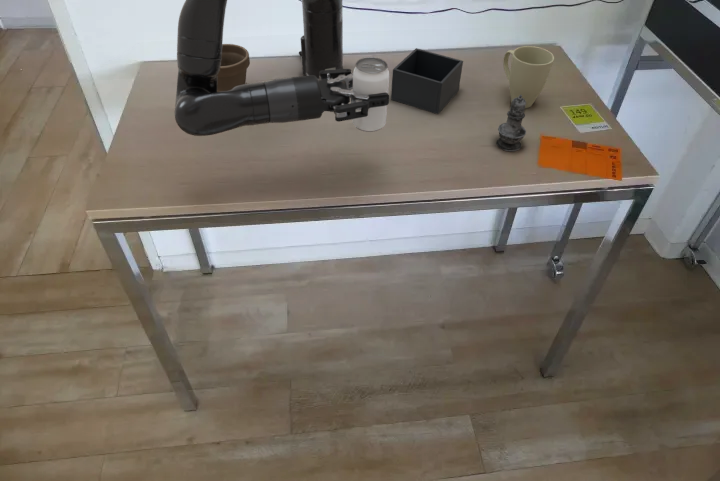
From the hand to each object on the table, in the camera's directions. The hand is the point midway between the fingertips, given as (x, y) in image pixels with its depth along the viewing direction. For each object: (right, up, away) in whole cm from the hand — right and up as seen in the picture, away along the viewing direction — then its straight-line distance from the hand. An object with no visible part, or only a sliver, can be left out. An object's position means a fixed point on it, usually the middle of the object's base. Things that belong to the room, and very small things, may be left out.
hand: (382, 88), depth 102 cm
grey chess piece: (+28, -7, +19) cm, 34 cm away
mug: (+33, +5, +31) cm, 46 cm away
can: (-2, -5, +5) cm, 8 cm away
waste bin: (+12, +7, +32) cm, 35 cm away
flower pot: (-35, +7, +31) cm, 47 cm away
